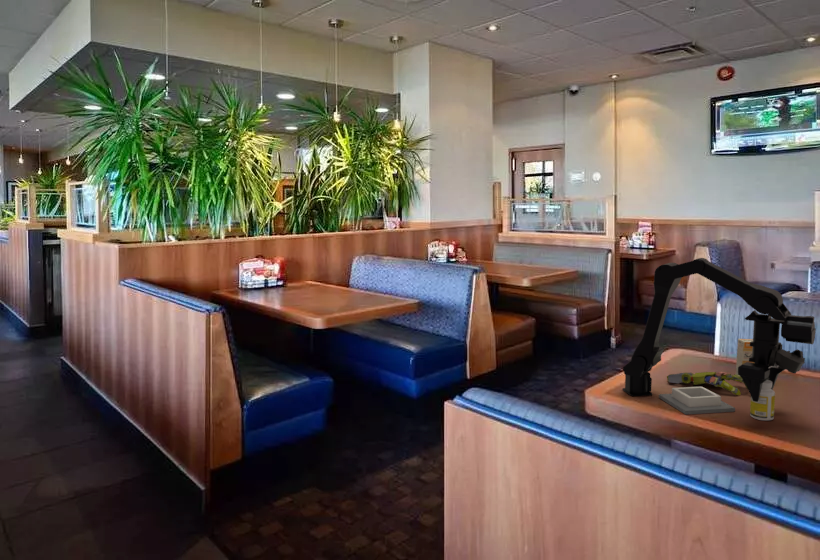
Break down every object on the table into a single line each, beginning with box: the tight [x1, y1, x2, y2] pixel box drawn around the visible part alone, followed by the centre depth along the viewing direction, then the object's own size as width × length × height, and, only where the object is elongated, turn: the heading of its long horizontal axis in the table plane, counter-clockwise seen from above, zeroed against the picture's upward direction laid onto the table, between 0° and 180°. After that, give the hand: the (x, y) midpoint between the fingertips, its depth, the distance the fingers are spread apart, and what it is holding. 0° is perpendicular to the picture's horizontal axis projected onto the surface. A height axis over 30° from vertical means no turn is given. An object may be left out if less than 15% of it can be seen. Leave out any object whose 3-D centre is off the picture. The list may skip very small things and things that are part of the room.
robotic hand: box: [666, 371, 747, 397], centre depth 180 cm, size 12×7×25 cm
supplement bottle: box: [749, 380, 776, 421], centre depth 155 cm, size 5×5×10 cm
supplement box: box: [735, 338, 754, 376], centre depth 185 cm, size 8×5×13 cm, turn 80°
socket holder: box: [658, 386, 736, 415], centre depth 166 cm, size 14×14×4 cm
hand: (762, 397), depth 155 cm, fingers open, 9 cm apart
